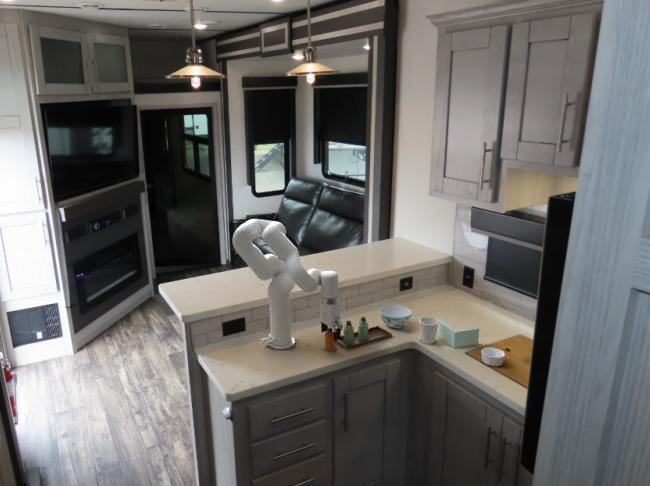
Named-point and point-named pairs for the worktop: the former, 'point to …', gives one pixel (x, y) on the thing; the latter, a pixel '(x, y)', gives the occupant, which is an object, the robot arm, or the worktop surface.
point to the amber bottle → (329, 339)
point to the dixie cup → (428, 329)
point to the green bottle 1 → (348, 333)
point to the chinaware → (395, 315)
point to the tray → (373, 336)
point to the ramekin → (492, 356)
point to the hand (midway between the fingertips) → (330, 335)
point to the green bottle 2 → (363, 329)
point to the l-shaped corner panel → (458, 336)
